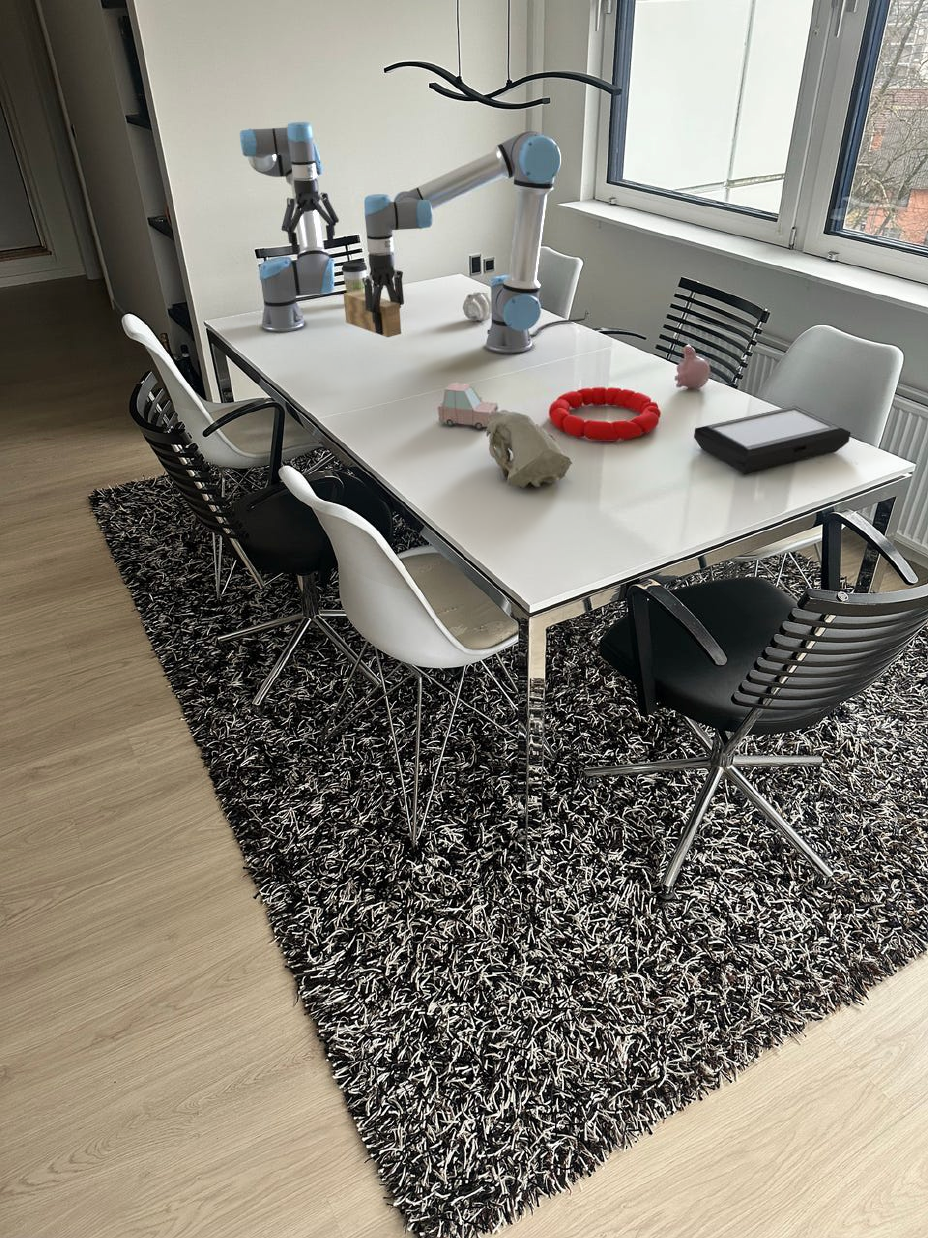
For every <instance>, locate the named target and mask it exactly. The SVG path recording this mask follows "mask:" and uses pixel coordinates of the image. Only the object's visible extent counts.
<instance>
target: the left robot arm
mask: <svg viewBox="0 0 928 1238" xmlns="http://www.w3.org/2000/svg"><path fill="white" fill-rule="evenodd" d="M239 138H240V146H241V152H242V155H243V156H244V157H246V158H247V159H248V162H249V165H250V166H251V167H252V168H253V170H254V171H256V172H257V173H259V174H262V175H265V176H268V177H273V178H284V177H285V181H286V183H287V184H289V185H290V186H291V193H292V198H291V197H287V199H286V209H285V213H284V217H283V221H282V225H281V231H282V232H285V233H287V238H288V243H289V244H291V251H292V252H291V253H292V254H293V255H296V260H294V261H293V260H292V258H291V257H290V256H277V257H272V258H270V259H267V260H264V261H263V262H261V263H260V265H259V266H258V270H259V280H260V285H261V286H260V287H261V292H262V299H263V313H262V319H261V326H262V330H264V331H265V332H271V333H286V332H293V331H296V330H297V331H298V330H300V329H302V328H304V326H305V319H304V317H303V314H302V312H301V310H300V307H299V306H298V305H299V304H298V303H297V297H300V296H301V297H302V296H303V297H304V296H314V295H324V294H331V293H333V291H334V290H335V259H334V258H332V257H330V253H329V252H328V251H327V250H325V246H324V244H325V243H324V237H323V232H322V231H323V230H322V223H321V218H322V219H323V220H324V221H325V223H327V224H326V225H325V229H326V230H325V232H326V239H327V247H329V248H333V249H334V248H335V240H334V237H335V235H336V232H335V227H336V225H337V224H338V223H339V222H340V219H339V217H338V216H337V215H338V214H337V212H336V211H335V210H334V207H333V205H332V204H331V202H330V200H329V195H328V193H326V192H320V193H319V180H320V175H322V173H323V168H322V162H321V156H320V154H319V150H318V146H317V143H316V142H315V140H314V134H313V128H312V125H311V123H310V122H308V121H293V122H290V123H289V122H288V124H287V126H286V127H273V128H248V129H242V130H240V131H239ZM320 201H321V202H322V204H323V206H322V205H320V203H319V202H320ZM323 207H324V208H325V210H326V211H325V210H324V209H323ZM296 229H297V232H295V230H296ZM299 250H300V251H299Z"/></svg>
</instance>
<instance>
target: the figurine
mask: <svg viewBox="0 0 928 1238" xmlns="http://www.w3.org/2000/svg"><path fill="white" fill-rule="evenodd" d="M682 354H683V358H684V359H683V361H682V362H679V363H678V364H677V365H676V372H677V375H675V376H674V381H675V382H676V381H677V382H676V384H675V386H676V388H681V387H686V388H688V389H693V390H694V389H695V390H696V389H700V388H703V387H704V386H705V385H706V384H707V383H708V382H709V379H710V377H711V367H710V364H709V362H708V361H706V359H704V358H702V357H700V356H697V353H696V350H695V349H694V347H692V345H690V344H686V345H685V346H684V347H683V348H682Z"/></svg>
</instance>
